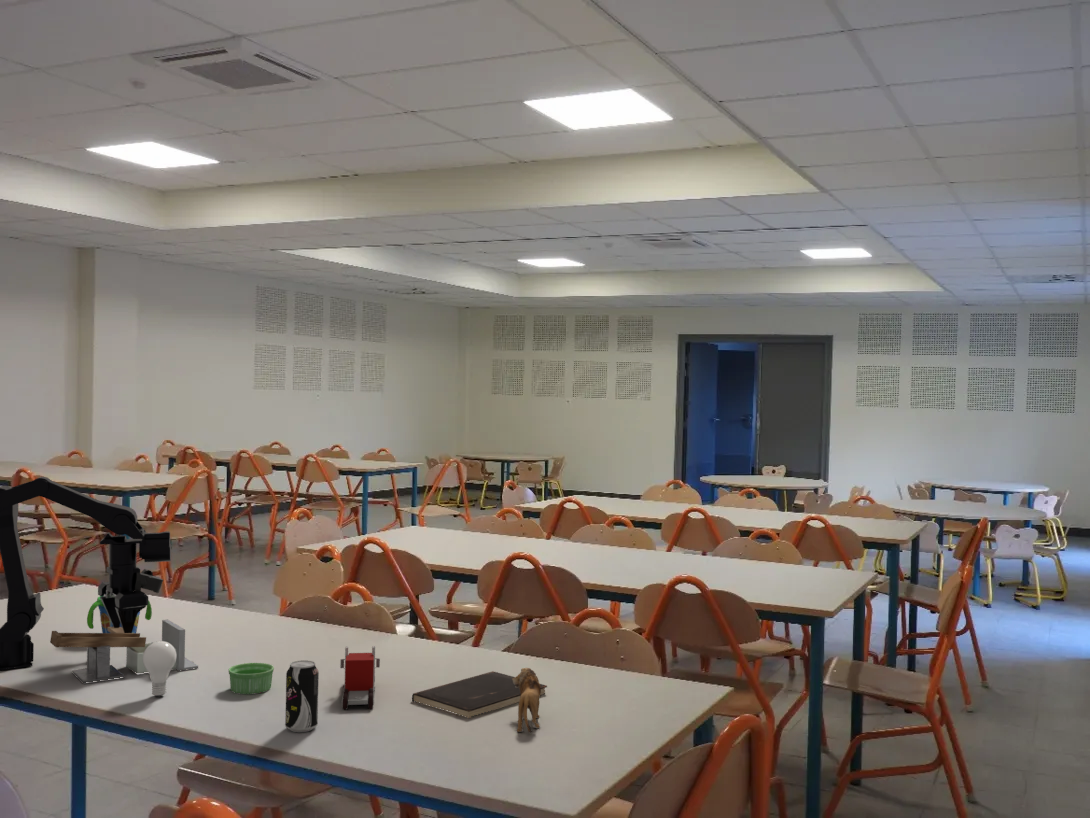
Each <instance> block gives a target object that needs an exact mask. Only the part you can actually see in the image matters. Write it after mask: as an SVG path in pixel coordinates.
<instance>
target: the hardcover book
mask: <svg viewBox="0 0 1090 818" xmlns="http://www.w3.org/2000/svg"><path fill="white" fill-rule="evenodd" d="M515 677H516V676H512V675H509V674H505V673H500V672H498V671H494V670H492V671H489V672H485V673H481V674H479V675H475V676H472V677H468V678H463V679H461V680H460V679H459V680H457V681H453V682H449V683H446V684H442V685H438V686H435V687H431V688H428V689H424V690H420V691H417V692H414V693H412V697H411V702H414V701H417V702H416V703H418V702H420V703H419V704H421V703H424V704H427V705H430V706H429V707H431V706H433V707H432V708H434V707H437V708H441V709H444V710H448V711H451V712H454V713H457V714H460V715H463V716H466V717H470V716H474V715H477V716H479V715H478V714H480V715H482V714H481V713H483V714H485V713H484V712H486V713H489V712H491V710H492V711H495V710H498V709H501V708H503V707H508V706H511V705H514V704H516V703H519V702H520V697H521V695H520V694H521V693H520V689H519V687H518V688H516V687H515V684H514V683H513V680H512V679H513V678H515ZM540 685H541V687H540V688H541V693H540V696H542V695H544V694H545V693H546V690H545V688H548V685H545V684H542V683H540ZM413 700H414V701H413ZM424 704H423V705H424ZM427 705H426V706H427ZM437 708H436V709H437ZM488 711H489V712H488ZM460 715H459V716H460ZM463 716H462V717H463ZM466 717H465V718H466ZM474 717H475V716H474ZM470 718H471V717H470Z"/></svg>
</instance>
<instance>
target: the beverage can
mask: <svg viewBox="0 0 1090 818" xmlns="http://www.w3.org/2000/svg"><path fill="white" fill-rule="evenodd" d="M319 674H320V673H319V670H318V667H317V666H316V662H315V661H314V660H296V661H292V662H290V663H289V668H288V670H287V671H286V673H285V677H286V678H285V716H284V717H285V721H284V722H285V724H284V725H285V727H286V729H288V730H289V731H291V732H292V733H293V732H294V733H305V732H310V731H312V730H314V729H315V728H316V727H317V726H318V721H319V720H318V719H319V715H318V714H319Z"/></svg>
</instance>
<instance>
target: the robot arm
mask: <svg viewBox="0 0 1090 818" xmlns="http://www.w3.org/2000/svg"><path fill="white" fill-rule="evenodd" d="M38 497H41V498H45V499H47V500H49V501H51V502H55V503H57V504H58V505H61V506H64V507H66V508H69V509H71V510H73V511H76V512H77V513H80V514H83V515H85V516H88V517H90V518H92V519H93V520H95V521H96V522H97V523H98V524H100V525H101V526H103V527H105V529H108V530H109V531H111V532H112V533H114V534H115V535H112V534H111V532H107V533H106V535H105V537H103V538H102V539H100V541H99V545H103V546H104V545H109V547H108V550H109V551H108V552H109V553H108V554H109V556H108V566H106V573H108V581H104V582H101V583H100V584H99V585H98V586H97V596H98V597H100V596H103V597H100V599H101V601H102V603H103V605H104V607H105V609H106V611H107V614H108V616H109V618H110V620H111V622H112V624H113V627H114V628H119V627H120V623H121V625H122V628H123V631H124V633H132V630H133V627H134V624H135V620H136V617H137V614H138V613H139V612H140V613H141V611H142V610H143V609H146V608H147V605H148V600H149V595H147V594H146V593H145V592H144V591H142V589H143V590H148V591H151V592H153V593H157V594H159V593H160V590H161V587H162V584H163V582H164V579H162V578H160V577H158V576H156V575H154V574H153V573H154V572H153V571H152V570H151V569H146V568H144V569H143V570H142V571H141V569H140V568H139V567H138V566H137V544H139V545H138V555H139V556H138V557H139V559H141V560H143V561H144V563H161V562H162V563H165V562H172V561H171V560H172V544H171V531H167V530H166V531H162V532H147V531H146V530H145V528H143V526H142V525H141V523H139V522H138V515H137V512H136V511H135V510H134V509H133V508H132V507H129V506H125V505H123V504H122V505H121V504H117V503H112V502H106V501H103V500H98V499H96V498H94V497H91V496H89V495H87V494H85V493H82V492H80V491H77V490H75V489H73V488H70V487H67V486H65V485H63V484H61V483H59V482H56V481H53V480H52V479H50V478H49V477H47V476H39V477H37V478H35V479H34V480H29V481H26V482H24V483H21V484H18V485H14V486H8V485H0V558H1V562H2V567H3V572H4V577H5V582H6V587H7V592H8V594H7V603H6V622H4V624H3V625H1V627H0V671H5V670H12V669H19V668H26V667H27V668H28V667H32V666H33V662H34V649H35V648H34V643H33V641H32V636H31V635H30V634H29V632H30V631H31V630H33V629H34V628H35V626H36V625H37V623H39V620H40V619H41V618H42V612H43V611H44V607H43V605H42V602H41V599H42V597H41V592H40V591H39V592H37V593H34V592H33V591H32V589H31V587H30V585H29V584H30V583H29V580H28V575H27V569H26V565H25V559H24V554H23V549H22V545H21V539H20V533H19V529H18V517H19V504H21V503H23V502H27V501H29V500H31V499H34V498H38ZM127 537H129V538H127ZM130 538H131V539H130Z"/></svg>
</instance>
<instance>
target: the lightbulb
mask: <svg viewBox="0 0 1090 818" xmlns="http://www.w3.org/2000/svg"><path fill="white" fill-rule="evenodd" d="M151 643H152V644H150V645H149V646H148V647H147V648H146V649H145V651H144V653H143V664H144V666H145V668H146V669H147V671H148V672H149V673H148V674H149V678H150V681H151V688H152V689H151V694H152V695H153V696H155V697H156V696H161V697H162V696H164V695H165V694H166V693H167V681H168V678H169V674H170V672H171V671H172V670H171V669H172V667H173V666H174V664H175V662H176V658H177V654H176V650H175V648H174V647H173V646H172V645H171V644H170V643H168V642H165V641H162V640H158V641H154V642H151Z"/></svg>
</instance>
